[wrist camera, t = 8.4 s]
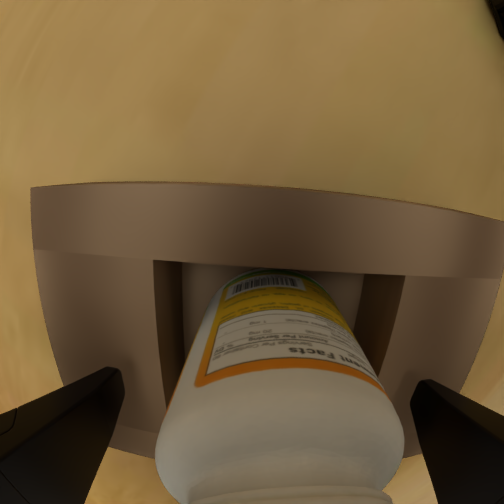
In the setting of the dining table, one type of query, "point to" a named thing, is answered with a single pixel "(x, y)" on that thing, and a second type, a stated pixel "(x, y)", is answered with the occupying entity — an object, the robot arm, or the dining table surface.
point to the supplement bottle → (277, 403)
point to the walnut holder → (250, 258)
